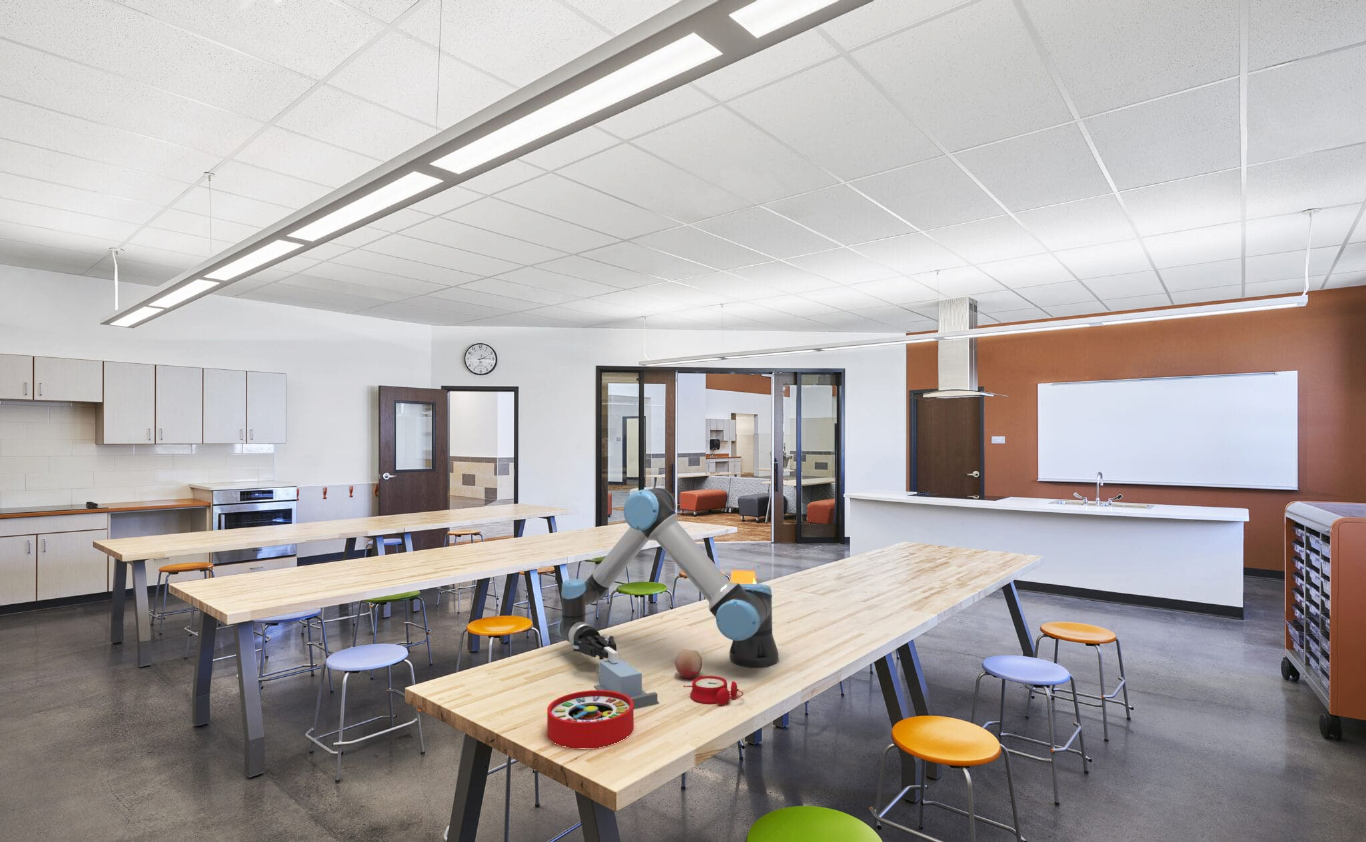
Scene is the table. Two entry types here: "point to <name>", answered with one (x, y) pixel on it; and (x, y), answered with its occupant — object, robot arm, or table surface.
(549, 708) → the toy clock
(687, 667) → the fruit
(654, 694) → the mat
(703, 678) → the alarm clock
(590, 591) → the robot arm
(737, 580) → the orange juice
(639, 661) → the table surface
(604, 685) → the blue-grey rectangular block
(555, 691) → the table surface
